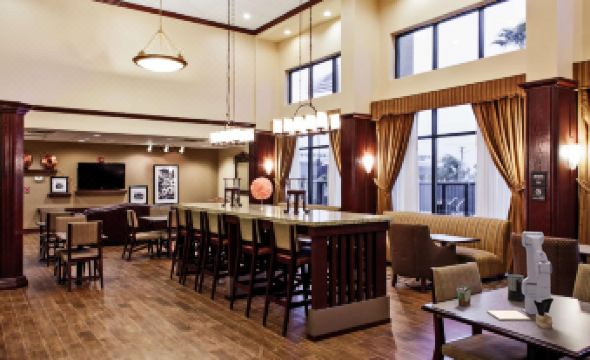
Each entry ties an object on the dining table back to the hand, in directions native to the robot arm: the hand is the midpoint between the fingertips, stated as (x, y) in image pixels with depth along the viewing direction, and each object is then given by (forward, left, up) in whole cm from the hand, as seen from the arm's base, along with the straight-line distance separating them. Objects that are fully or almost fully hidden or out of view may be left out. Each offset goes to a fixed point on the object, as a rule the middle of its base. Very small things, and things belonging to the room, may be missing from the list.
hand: (543, 314), depth 212 cm
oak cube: (0, 0, -6) cm, 6 cm away
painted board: (+10, -15, -6) cm, 19 cm away
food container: (+25, -38, -6) cm, 46 cm away
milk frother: (-15, -46, -6) cm, 49 cm away
